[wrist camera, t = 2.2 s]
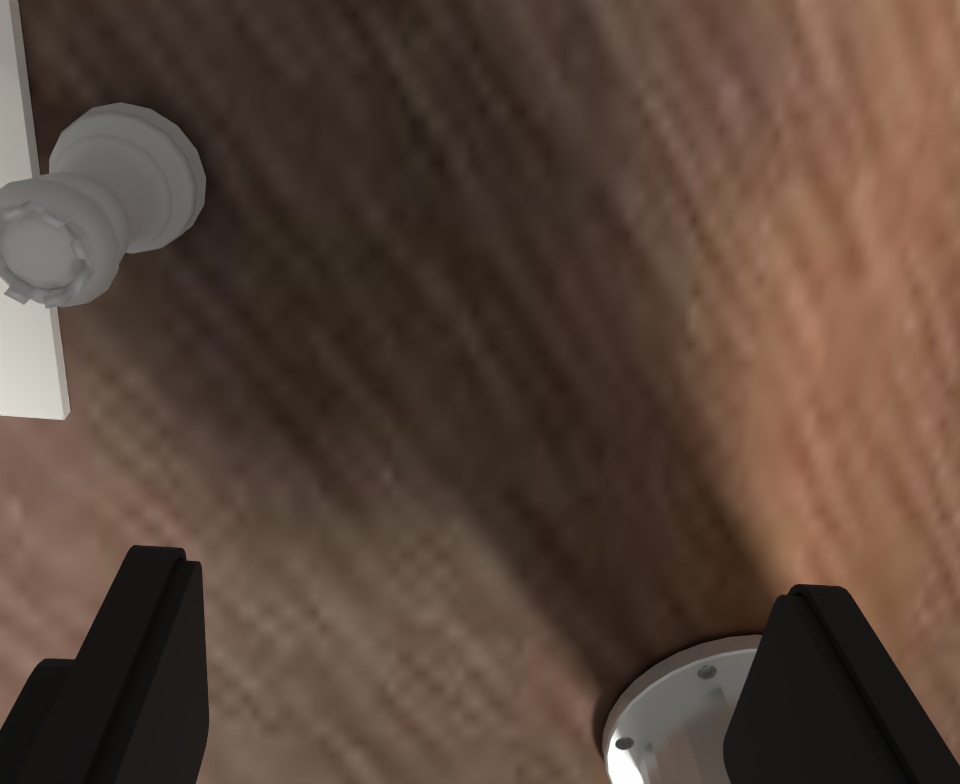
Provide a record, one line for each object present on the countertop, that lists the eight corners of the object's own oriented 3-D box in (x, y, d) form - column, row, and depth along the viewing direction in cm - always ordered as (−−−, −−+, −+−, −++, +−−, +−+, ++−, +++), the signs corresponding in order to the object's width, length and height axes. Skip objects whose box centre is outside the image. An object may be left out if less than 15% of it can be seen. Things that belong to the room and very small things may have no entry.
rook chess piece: (218, 241, 28) (147, 345, 21) (79, 240, 28) (-40, 344, 21) (200, 101, 26) (114, 163, 19) (50, 98, 25) (-94, 160, 18)
